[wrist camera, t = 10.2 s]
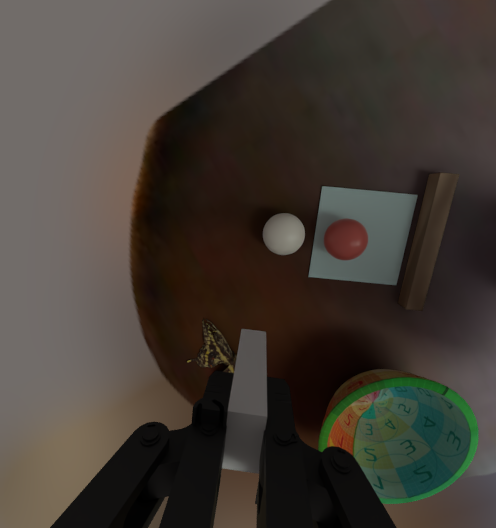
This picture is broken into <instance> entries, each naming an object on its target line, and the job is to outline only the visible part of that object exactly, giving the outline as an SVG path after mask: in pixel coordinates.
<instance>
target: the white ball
mask: <svg viewBox="0 0 496 528" xmlns="http://www.w3.org/2000/svg"><path fill="white" fill-rule="evenodd" d="M304 238H305V230H304V226H303V224H302V222H301V221H300V220H299V219H298V218H297V217H296V216H294V215H292V214H289V213H280V214H276V215H274V216H273V217H271V218H270V219H269V220H268V221H267V222H266V224H265V226H264V229H263V240H264V243H265V245H266V246H267V248H268V249H269V250H271V251H272V252H274V253H276V254H279V255H288V254H292V253H294V252H295V251H297V250H298V249H299V248H300V247H301V245H302V244H303V241H304Z"/></svg>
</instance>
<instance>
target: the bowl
mask: <svg viewBox="0 0 496 528" xmlns="http://www.w3.org/2000/svg"><path fill="white" fill-rule="evenodd" d="M477 444H478V426H477V421H476V418H475V416H474V414H473V412H472V410H471V408H470V407H469V405H468V404H467V403H466V401H465V400H464V399H463V398H462V397H461V396H459V395H458V394H457V393H456V392H454V391H453V390H451V389H450V388H448V387H447V386H444V385H442V384H440V383H437V382H435V381H432V380H429V379H426V378H424V377H420V376H417V375H414V374H411V373H408V372H404V371H399V370H391V369H376V370H370V371H366V372H363V373H360V374H358V375H356V376H354V377H352V378H350V379H349V380H347V381H346V382H345V383H344V384H342V385H341V386H340V387H339V389H338V390H337V391H336V392H335V394H334V395H333V397H332V399H331V400H330V402H329V405H328V407H327V410H326V414H325V417H324V419H323V423H322V427H321V430H320V435H319V440H318V451H321V452H323V451H324V449H325V448H327V447H330V446H335V447H340V448H342V449H345V450H346V451H348V452H349V453H350V454H351V455H353V457H354V458H355V459H356V460H357V462H358V463H359V465H360V467H361V469H362V470H363V472H364V474H365V475H366V477H367V479H368V480H369V482H370V484H371V485H372V487H373V489H374V491H375V492H376V494H377V496H378V497H379V499H380V501H381V502H382V503H385V504H398V503H407V502H412V501H417V500H421V499H423V498H426V497H429V496H432V495H434V494H436V493H438V492H440V491H442V490H443V489H445V488H446V487H448V486H449V485H451V484H452V483H453V482H454V481H456V480H457V479H458V478H459V477H460V476H461V475H462V474H463V472H464V471H465V470H466V469H467V468H468V466H469V464H470V463H471V461H472V459H473V457H474V454H475V452H476V449H477Z"/></svg>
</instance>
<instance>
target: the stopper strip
mask: <svg viewBox="0 0 496 528" xmlns="http://www.w3.org/2000/svg"><path fill="white" fill-rule="evenodd" d="M458 177H459V174H451V173H434V174H429V177H428V181H427V185H426V189H425V193H424V197H423V201H422V205H421V210H420V214H419V218H418V222H417V226H416V230H415V234H414V238H413V242H412V246H411V250H410V255H409V259H408V263H407V267H406V271H405V275H404V279H403V283H402V287H401V291H400V296H399V300H398V304H400V305H401V306H402V307H404V308H405V309H408V310H418V311H422V310H423V307H424V303H425V299H426V296H427V292H428V288H429V285H430V281H431V277H432V273H433V270H434V266H435V262H436V259H437V255H438V251H439V248H440V244H441V240H442V236H443V233H444V229H445V225H446V222H447V218H448V214H449V211H450V207H451V203H452V200H453V196H454V192H455V188H456V185H457V181H458Z"/></svg>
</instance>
